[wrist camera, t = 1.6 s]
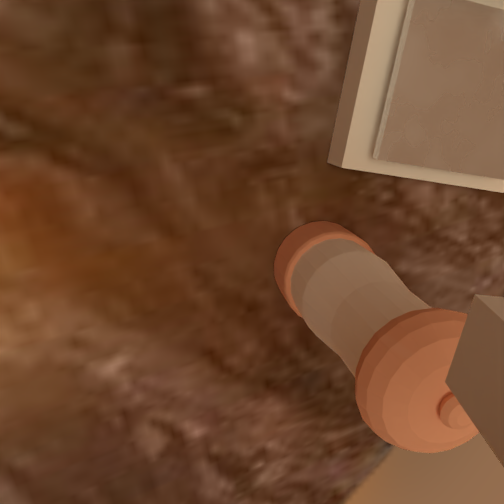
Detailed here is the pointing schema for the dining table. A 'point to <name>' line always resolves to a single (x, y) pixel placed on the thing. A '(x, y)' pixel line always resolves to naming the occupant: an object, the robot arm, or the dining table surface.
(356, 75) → the scale base
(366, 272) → the salt shaker
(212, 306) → the dining table surface
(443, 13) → the scale pan
